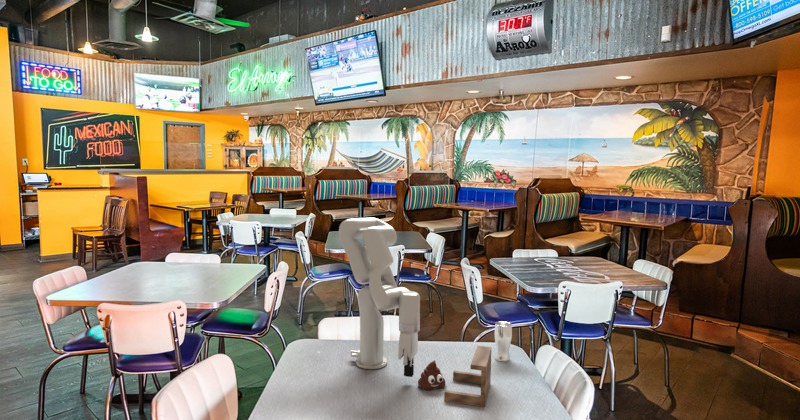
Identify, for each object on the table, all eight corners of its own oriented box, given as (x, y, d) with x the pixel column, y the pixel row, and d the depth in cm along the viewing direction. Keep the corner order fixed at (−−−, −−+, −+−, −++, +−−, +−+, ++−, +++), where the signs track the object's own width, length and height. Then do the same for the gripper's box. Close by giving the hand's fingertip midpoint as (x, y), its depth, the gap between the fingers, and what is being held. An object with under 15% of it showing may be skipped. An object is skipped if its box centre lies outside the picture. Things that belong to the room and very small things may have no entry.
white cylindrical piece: (511, 363, 181) (512, 326, 180) (494, 361, 182) (494, 325, 181) (510, 356, 188) (511, 321, 187) (493, 355, 189) (494, 320, 188)
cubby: (444, 400, 149) (445, 361, 148) (453, 378, 166) (454, 343, 165) (485, 407, 145) (486, 366, 144) (490, 383, 162) (491, 347, 161)
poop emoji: (440, 379, 165) (440, 354, 164) (449, 389, 157) (450, 363, 156) (414, 382, 162) (415, 357, 161) (423, 393, 154) (423, 367, 153)
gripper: (405, 319, 169) (404, 366, 169) (392, 331, 154) (392, 382, 155) (424, 321, 166) (423, 369, 167) (413, 333, 152) (413, 386, 153)
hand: (408, 375), depth 161 cm, fingers closed
